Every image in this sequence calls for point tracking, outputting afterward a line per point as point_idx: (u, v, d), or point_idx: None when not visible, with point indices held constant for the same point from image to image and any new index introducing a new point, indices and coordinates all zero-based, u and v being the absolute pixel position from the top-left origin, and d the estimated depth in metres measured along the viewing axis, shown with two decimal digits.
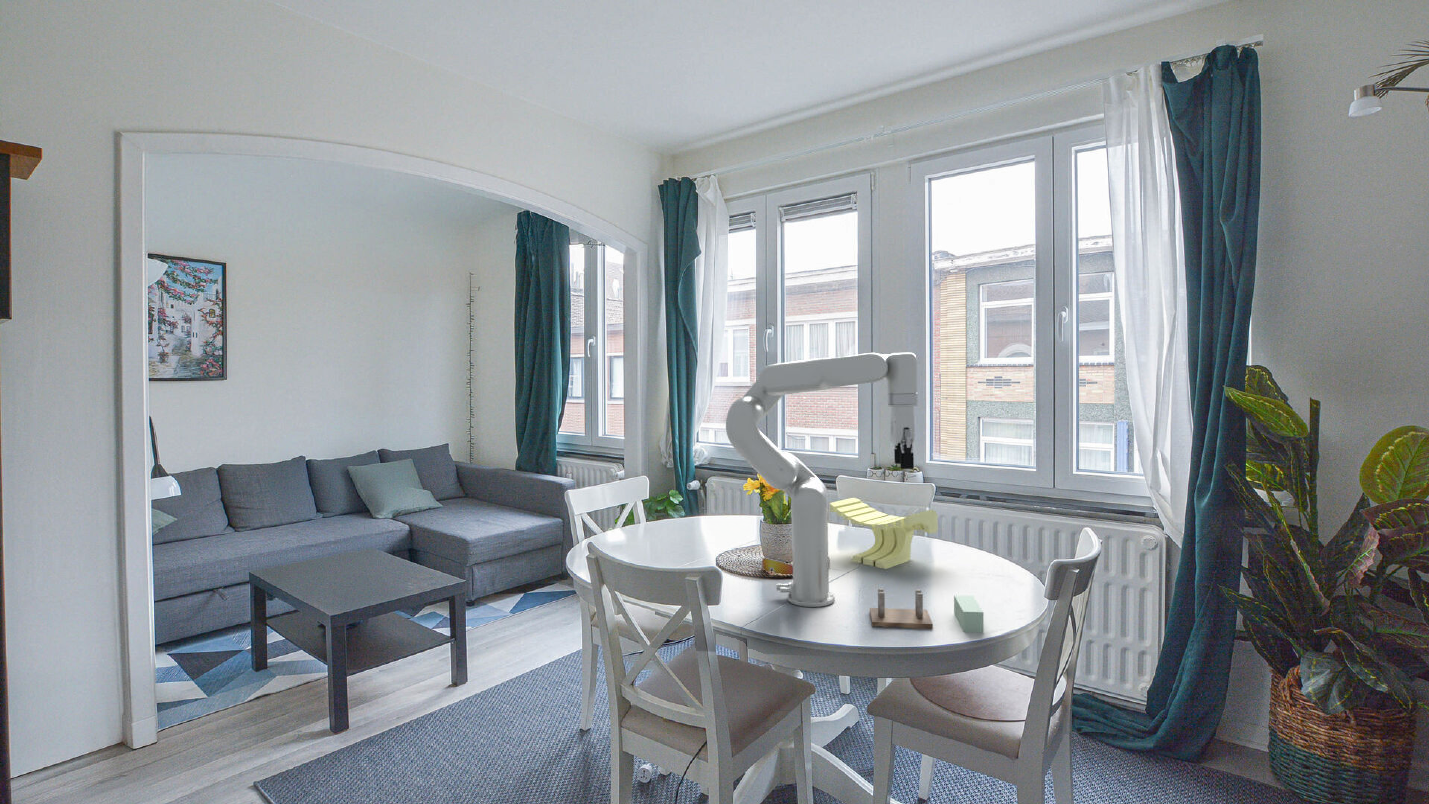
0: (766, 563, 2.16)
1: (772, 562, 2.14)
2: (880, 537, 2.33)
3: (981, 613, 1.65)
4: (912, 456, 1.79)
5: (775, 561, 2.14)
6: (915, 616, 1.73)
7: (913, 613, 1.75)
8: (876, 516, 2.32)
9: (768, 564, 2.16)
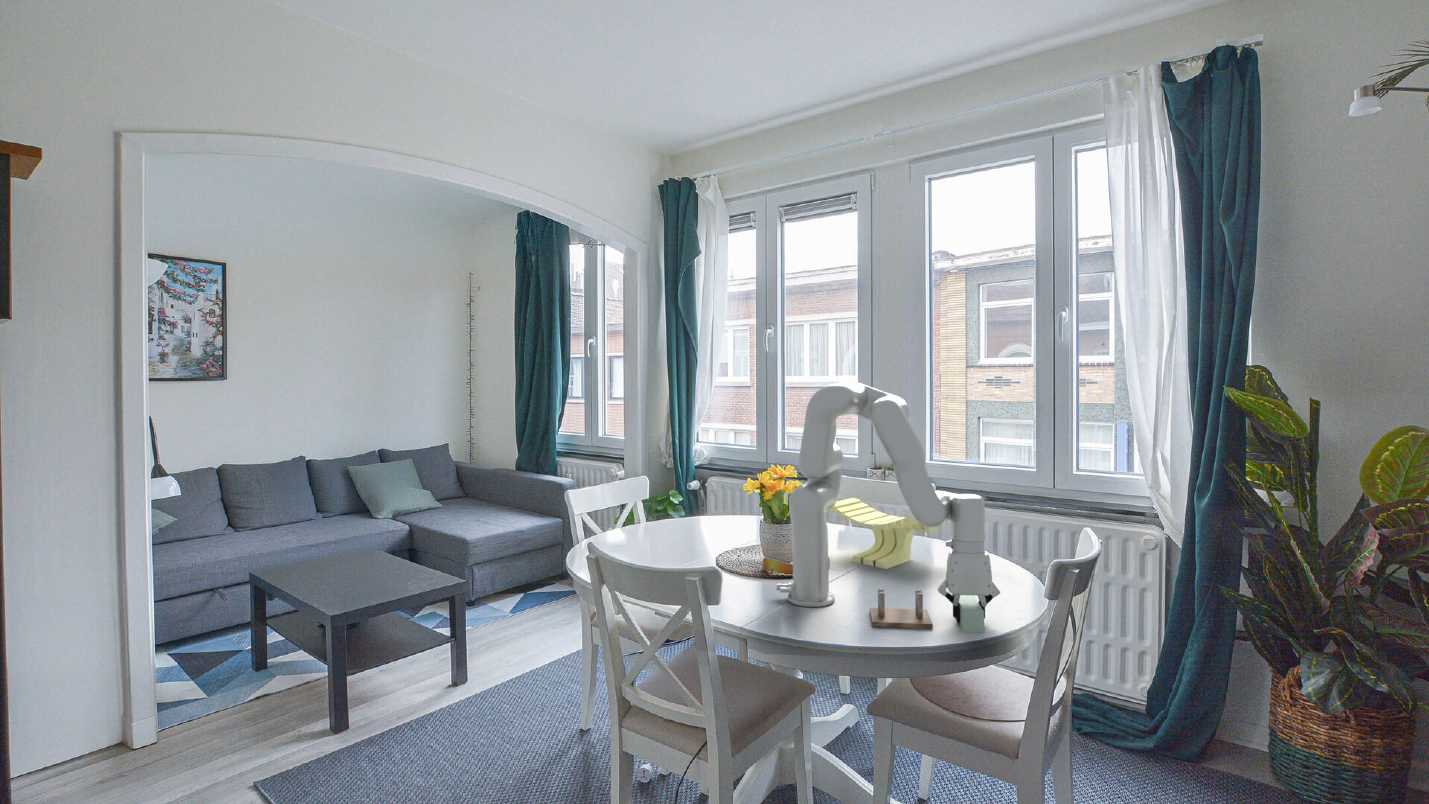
0: (767, 563, 2.17)
1: (773, 562, 2.15)
2: (880, 537, 2.33)
3: (981, 612, 1.65)
4: None
5: (776, 561, 2.14)
6: (915, 616, 1.73)
7: (913, 613, 1.75)
8: (876, 516, 2.32)
9: (769, 564, 2.16)
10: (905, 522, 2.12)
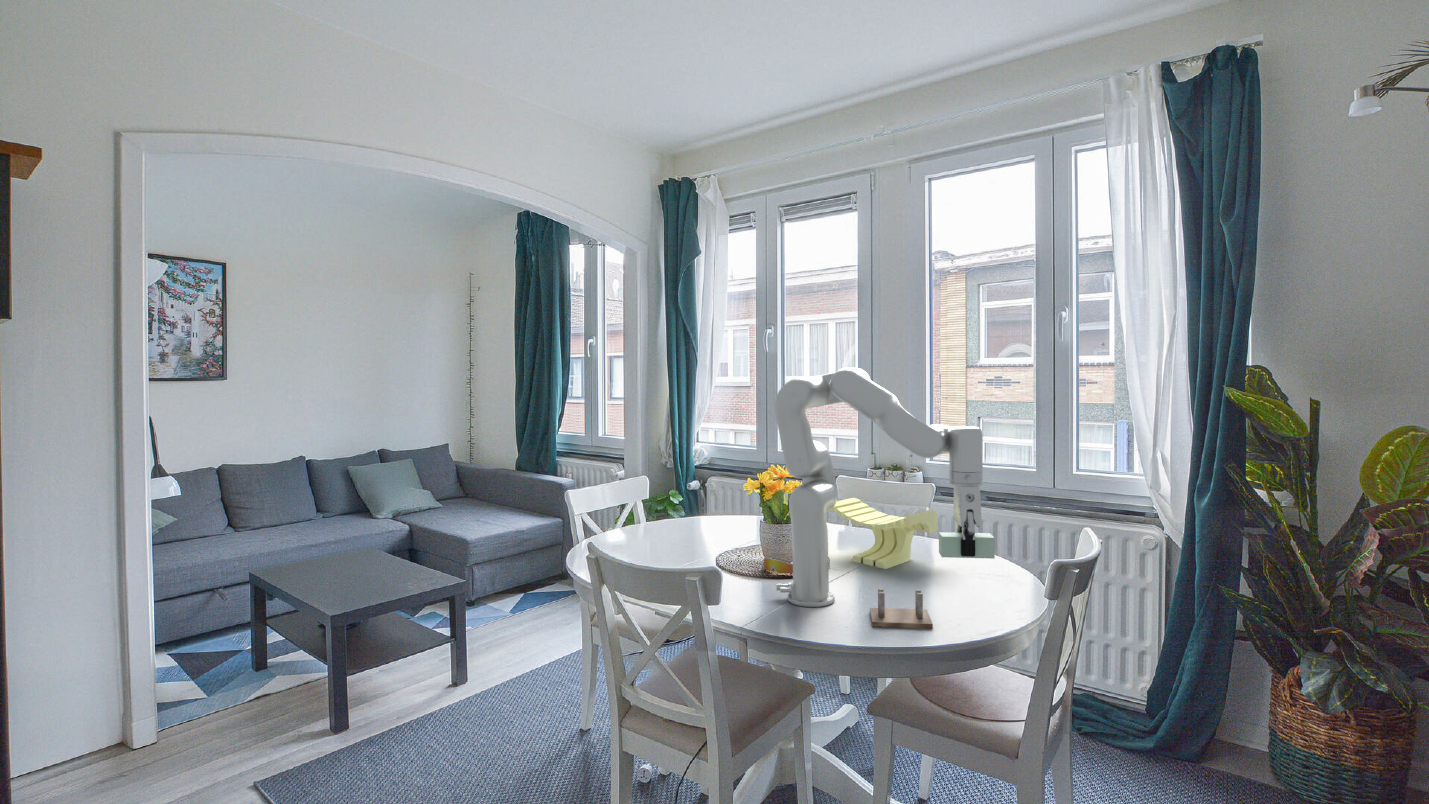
0: (768, 563, 2.17)
1: (774, 562, 2.15)
2: (880, 537, 2.33)
3: (990, 534, 1.71)
4: None
5: (777, 561, 2.14)
6: (915, 616, 1.73)
7: (913, 613, 1.75)
8: (876, 516, 2.32)
9: (769, 564, 2.16)
10: (905, 522, 2.12)
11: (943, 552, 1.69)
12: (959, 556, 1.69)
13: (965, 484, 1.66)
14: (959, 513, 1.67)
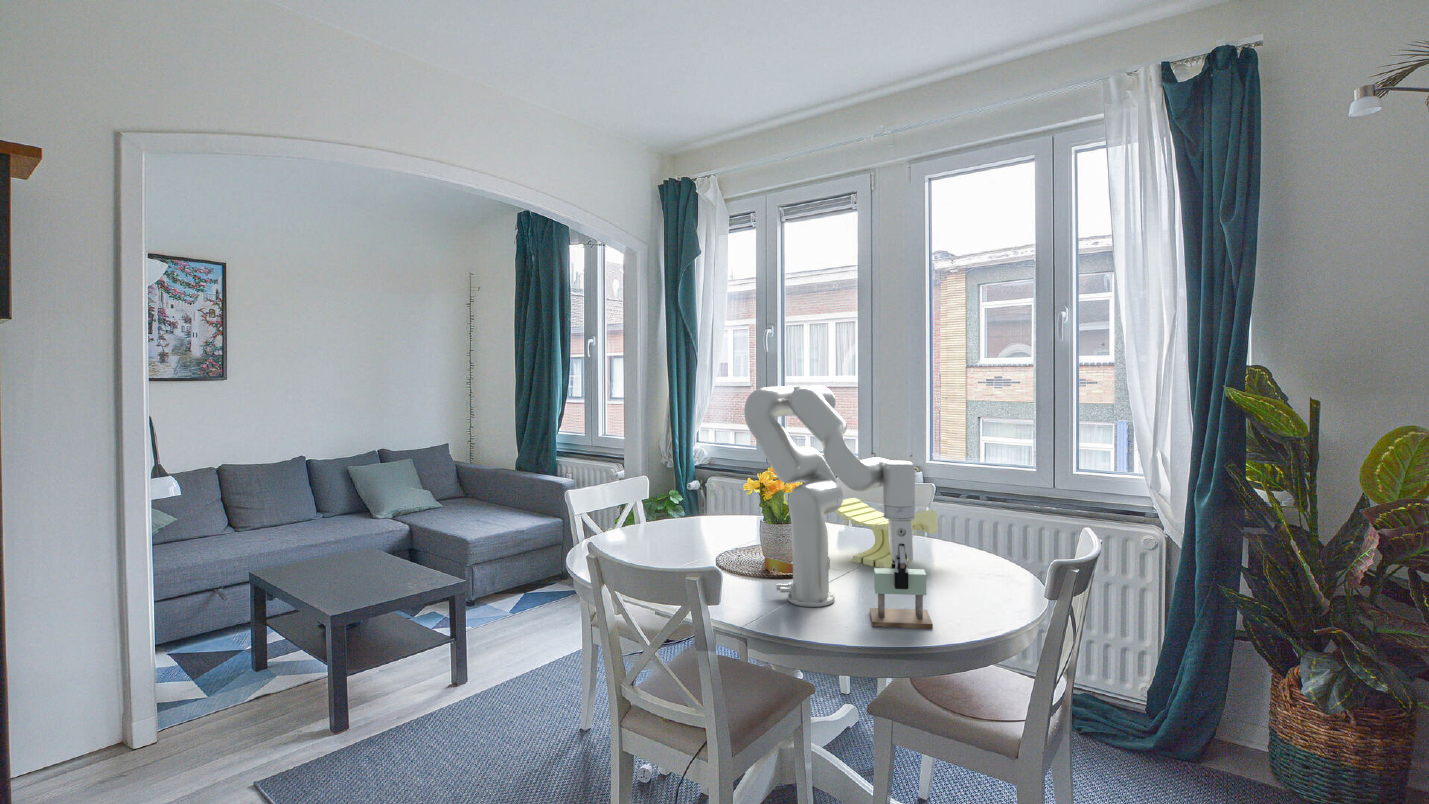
0: (768, 562, 2.17)
1: (774, 561, 2.15)
2: (880, 537, 2.33)
3: (924, 571, 1.74)
4: None
5: (777, 560, 2.14)
6: (915, 616, 1.73)
7: (913, 613, 1.75)
8: (876, 516, 2.32)
9: (770, 564, 2.16)
10: None
11: (876, 588, 1.72)
12: (892, 592, 1.72)
13: (897, 518, 1.69)
14: (891, 547, 1.70)
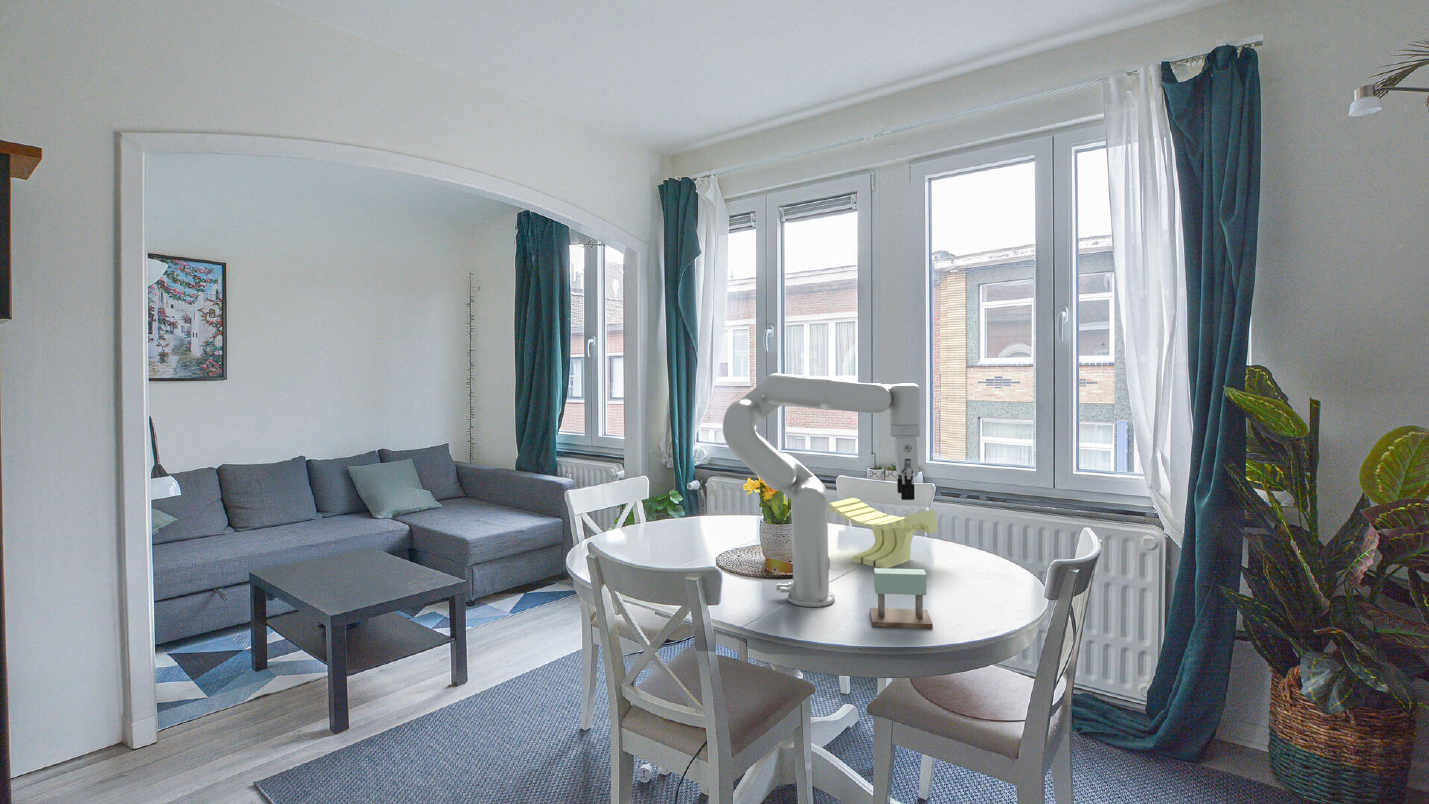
0: (769, 562, 2.17)
1: (775, 561, 2.15)
2: (880, 537, 2.33)
3: (924, 571, 1.74)
4: None
5: (778, 560, 2.14)
6: (915, 616, 1.73)
7: (913, 613, 1.75)
8: (876, 516, 2.32)
9: (771, 563, 2.16)
10: (905, 522, 2.12)
11: (876, 588, 1.72)
12: (892, 592, 1.72)
13: (903, 436, 1.81)
14: (898, 462, 1.82)
